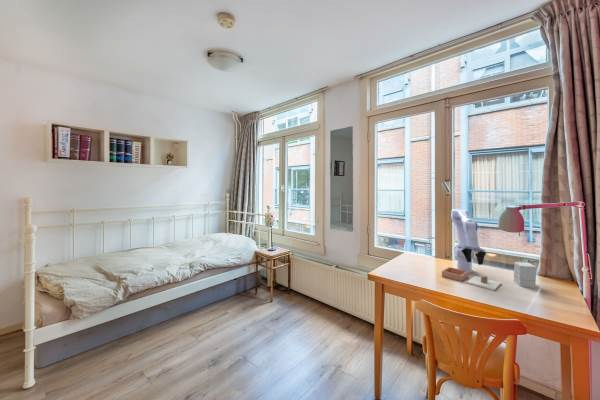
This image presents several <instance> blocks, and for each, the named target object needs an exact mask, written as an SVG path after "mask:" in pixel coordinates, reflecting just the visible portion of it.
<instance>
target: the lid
mask: <svg viewBox="0 0 600 400" xmlns="http://www.w3.org/2000/svg"><path fill="white" fill-rule="evenodd" d="M467 283H468V284H467ZM466 284H467V285H470V284H472V285H471V286H474V285H475V286H474V287H478V286H479V287H478V288H481V287H483V288H482V289H485V288H486V289H485V290H488V289H490V290H489V291H492V290H493V291H492V292H496V291H497V290H498V289H499V288H500V287H501V286H502V285H501V284H502V282H501V281H497V280H493V279H488V277H487V276H484V275H481V276H477V275H474V276H472V277H471V278H469V280H467V281H466ZM500 285H501V286H500ZM499 286H500V287H499ZM498 287H499V288H498ZM497 288H498V289H497ZM496 289H497V290H496ZM495 290H496V291H495Z"/></svg>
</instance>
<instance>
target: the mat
mask: <svg viewBox="0 0 600 400" xmlns="http://www.w3.org/2000/svg"><path fill="white" fill-rule="evenodd" d="M466 284H467V285H471V286H474V287H476V286H475V285H472V284H468V283H467V282H466ZM502 285H503V283H501V285H500V286H499V287H498V288H497V289H496V290H495V291H493V290H490V289H486V288H483V287H479V286H477V287H478V288H481V289H485V290H489V291H491V292H496V291H498V289H499V288H500V287H502Z"/></svg>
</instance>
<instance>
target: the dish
mask: <svg viewBox="0 0 600 400" xmlns="http://www.w3.org/2000/svg"><path fill="white" fill-rule="evenodd" d="M441 277H443V278H447V279H450V280H454V281H458V282H463V281H464V280H466V279H467V278H468V277H469V274H468V271H464V270H460V269H457V267H456V268H455V267H453V266H452V267H450V266H448V267H446V268H444V269H443V270H442V271H441Z"/></svg>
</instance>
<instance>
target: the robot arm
mask: <svg viewBox="0 0 600 400" xmlns="http://www.w3.org/2000/svg"><path fill="white" fill-rule="evenodd" d="M469 215H470V213H469V210H468V209H453V208H452V209H451V212H450V216H451V217H450V218H451V221H452V222H453V223H454V225H455V229H456V235H457V241H458V244H456V245H455V246H454V255H455V257H456V258H457V262H456V263H457V264H456V266H457V267H456V269H460V270H464V271H468V275H469V274H470V273H472V272H473V271H474V270H473V269H472V267H473V264H472V263H473V261H472V260H473V259H474V258H475V257H476V259H477V264H478V265H479V266H481V265H483V263H484V259H485V256H486V254H487V252H486V249H483V248H481V247H480V246H479V240H478V233H477V231H478V222H477V221H474V220H473V219H472V218H471V217H470V216H469ZM476 252H477V253H476Z"/></svg>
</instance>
